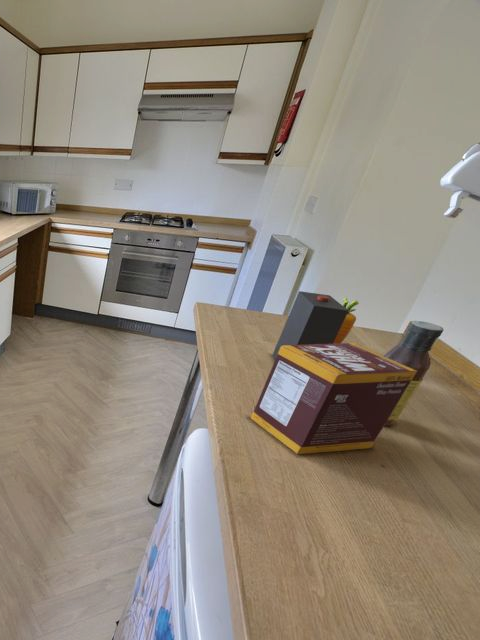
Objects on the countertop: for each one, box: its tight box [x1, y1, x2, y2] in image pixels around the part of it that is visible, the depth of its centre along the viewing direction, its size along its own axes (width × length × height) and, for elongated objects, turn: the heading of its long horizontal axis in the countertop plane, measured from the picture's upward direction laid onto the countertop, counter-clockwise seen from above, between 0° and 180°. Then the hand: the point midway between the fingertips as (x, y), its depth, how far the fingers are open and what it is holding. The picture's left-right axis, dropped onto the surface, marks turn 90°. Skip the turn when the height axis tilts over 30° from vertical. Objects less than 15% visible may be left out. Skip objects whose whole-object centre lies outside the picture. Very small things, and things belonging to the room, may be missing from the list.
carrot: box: [333, 297, 360, 344], centre depth 102 cm, size 5×5×15 cm
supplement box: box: [250, 342, 417, 455], centre depth 71 cm, size 10×15×16 cm
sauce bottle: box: [383, 320, 444, 426], centre depth 75 cm, size 7×6×20 cm
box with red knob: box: [271, 290, 349, 360], centre depth 92 cm, size 18×11×18 cm, turn 67°
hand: (474, 227), depth 82 cm, fingers open, 8 cm apart
